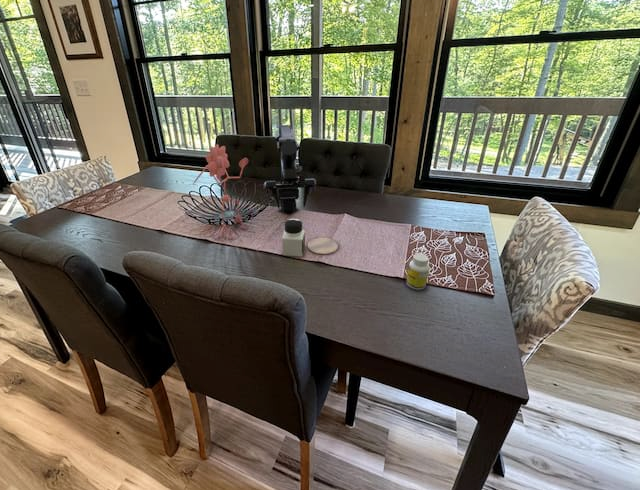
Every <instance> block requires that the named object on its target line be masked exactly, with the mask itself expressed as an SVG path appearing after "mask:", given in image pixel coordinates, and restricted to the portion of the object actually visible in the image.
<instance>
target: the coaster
mask: <svg viewBox="0 0 640 490" xmlns="http://www.w3.org/2000/svg"><path fill="white" fill-rule="evenodd" d="M306 247H307V249H308V250H309V251H310V252H311V253H313V254H317V255H330V254H334V253H335V252H336V251H338V248H339V245H338V243H337V241H336V240H334V239H332V238H328V237H316V238H312V239H311V240H309V241H308V242H307V246H306Z"/></svg>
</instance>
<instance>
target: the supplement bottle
mask: <svg viewBox="0 0 640 490" xmlns="http://www.w3.org/2000/svg"><path fill="white" fill-rule="evenodd" d="M429 259H430V258H429V257H428V255H426V254H424V253H418V252H417V253H414V254H413V257H412V259H411V260H410V262H409V264H408V269H407V276H406V283H405V284H406V285H407V286H408V287H409V288H410V289H413V290H417V291H419V290H420V291H421V290H423V289H425V288H426V286H427V283H428V277H429V273H430V266H431V265H430V264H429Z"/></svg>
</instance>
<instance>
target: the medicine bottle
mask: <svg viewBox="0 0 640 490" xmlns="http://www.w3.org/2000/svg"><path fill="white" fill-rule="evenodd" d="M305 248H306V230H305V229H303V222H302V221H301V220H300V219H299V218H289V219H286V220H285V221H284V231H283V234H282V237H281V251H282V256H285V257H287V256H288V257H299V258H300V257H301V258H302V257H304V252H305Z"/></svg>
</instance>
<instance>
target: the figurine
mask: <svg viewBox="0 0 640 490" xmlns="http://www.w3.org/2000/svg"><path fill="white" fill-rule="evenodd" d="M226 148H227V147H226V145H222V146H221V147H220V146H219V144H218V143H216V144H215V145H214V146H210V149H209V152H210V154H206V155H205V161H206V163H208V164H207V165H205V167H204V168H203V169H202V171H200V173H199V174H198V176H196V177H195V180H194V181H193V184H195V183H196V182H197V181H198V180H199V178H200V177H201V176H202V174H203V173H204V172H205V171H206V170H207V171H209V177H210V178H212V177H213V179H214V180H215V182H216V183H217V185H218V186H220V185H221V184H223V196H222V197H221V198H222V209H221V216H222V228H221V230H220V232H219V234H218V236H217V238H219V237H220V236H221V235H222V233H223V231H224V230H225V232H226V234H227V236H228V237H229V239H230V240H232V237H231V235H230V233H229V230H228V228H227V227H226V225H227V223H225V221H224V207H225V206H224V205H225V203H228V202H230V200H232V201H237V216H236V217H235V218H234V220H233V223H234V224H235V225H237V224H238V223H239V222H240V224H241V226H242V228H243V230H246V226H245V225H244V223H243V221H242V216H243V215H242V214H240V213H239V212H240V209H239V208H240V207H239V206H240V205H239V201H240V200H239V199H237V198H230V196H229V195H227V194H226V182H227V181H228V180H230V179H241V178H242V174H243V171H244V168H245V167H246V166H248V164H249V158H247V157H244V158H242V159H241V160H240V161H239V163H238V167H240V168H241V170H240V173H239V176H229V174H228V171H227V169H229V167H230V166H231V165H230V161H229V160H228V158H229V157H228V153H226ZM225 175H226V177H225V178H224V179H223V180H221V181H219V180H220V179H221V177H222V176H225ZM220 223H221V221H219V222H217V223H214V224H213V225H209V226H208V229H209V228H211V227H212V226H215V225H216V224H220ZM206 231H207V230H205V231H204V232H203V234H205V233H206Z"/></svg>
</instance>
